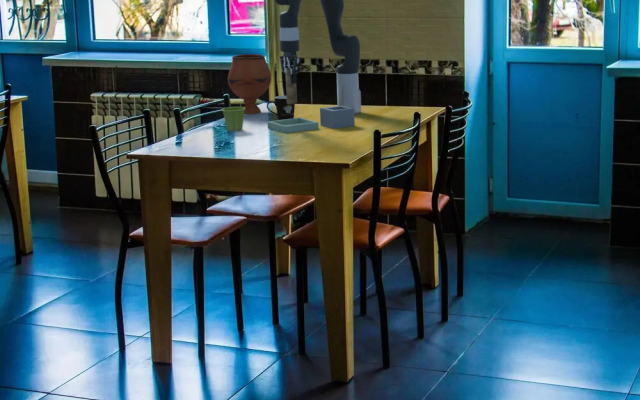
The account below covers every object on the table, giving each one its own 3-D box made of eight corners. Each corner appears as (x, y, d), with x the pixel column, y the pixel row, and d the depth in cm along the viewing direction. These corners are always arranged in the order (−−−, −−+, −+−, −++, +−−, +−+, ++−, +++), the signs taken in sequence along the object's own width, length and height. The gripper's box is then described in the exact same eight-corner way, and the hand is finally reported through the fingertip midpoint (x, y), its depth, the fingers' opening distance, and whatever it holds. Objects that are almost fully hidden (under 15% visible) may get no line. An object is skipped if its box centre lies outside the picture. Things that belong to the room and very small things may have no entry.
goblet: (243, 117, 445) (240, 59, 439) (221, 112, 460) (218, 56, 454) (281, 112, 455) (278, 55, 449) (259, 107, 470) (256, 52, 464)
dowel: (294, 102, 414) (292, 67, 410) (298, 103, 410) (297, 68, 407) (285, 103, 412) (283, 68, 408) (289, 104, 408) (288, 68, 405)
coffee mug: (297, 119, 435) (296, 95, 433) (295, 122, 427) (294, 98, 425) (270, 119, 437) (268, 95, 434) (267, 123, 428) (265, 98, 426)
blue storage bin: (341, 122, 423) (341, 105, 421) (354, 125, 414) (354, 108, 413) (320, 125, 418) (319, 108, 416) (332, 128, 410) (332, 111, 408)
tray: (300, 123, 423) (300, 117, 423) (318, 128, 410) (318, 122, 410) (267, 128, 416) (267, 121, 416) (285, 133, 403) (284, 126, 403)
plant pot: (242, 132, 409) (241, 110, 407) (219, 132, 411) (218, 110, 409) (249, 128, 418) (248, 106, 416) (226, 128, 420) (225, 106, 418)
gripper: (306, 39, 401) (308, 83, 405) (289, 37, 413) (291, 80, 417) (289, 40, 397) (291, 85, 401) (272, 38, 409) (274, 82, 413)
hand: (291, 82), depth 409 cm, fingers closed on dowel, 4 cm apart
